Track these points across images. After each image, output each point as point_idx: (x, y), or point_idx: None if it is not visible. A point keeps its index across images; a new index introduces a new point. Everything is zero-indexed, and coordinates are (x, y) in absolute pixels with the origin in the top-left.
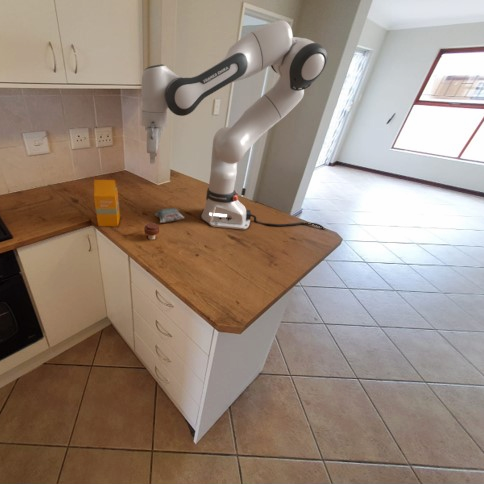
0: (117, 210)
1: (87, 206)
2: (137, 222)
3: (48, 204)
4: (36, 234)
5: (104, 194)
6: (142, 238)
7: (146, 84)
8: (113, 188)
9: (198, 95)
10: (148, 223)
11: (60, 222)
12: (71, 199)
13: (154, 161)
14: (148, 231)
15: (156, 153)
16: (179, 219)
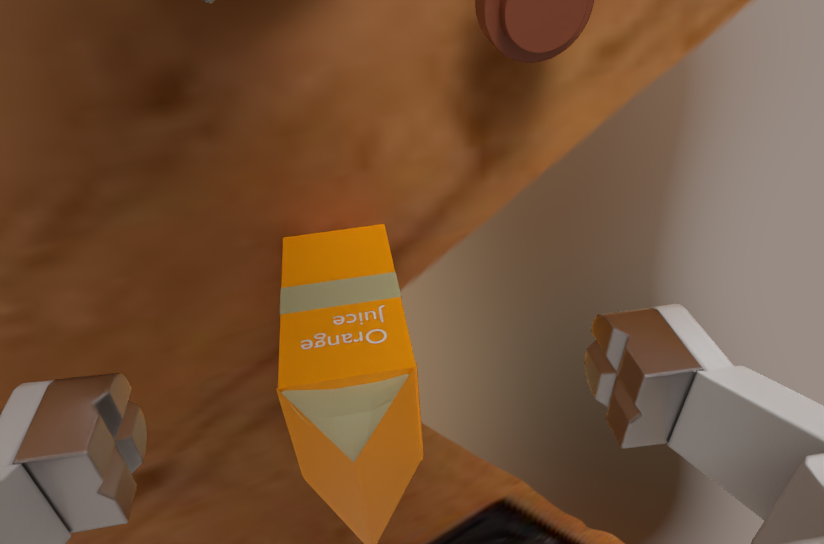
0: (356, 282)
1: (189, 419)
2: (315, 121)
3: (228, 536)
4: (478, 462)
5: (414, 422)
6: None
7: None
8: (389, 415)
9: None
10: (517, 40)
11: None
12: (137, 498)
13: (693, 330)
14: (584, 22)
15: (77, 420)
16: None
